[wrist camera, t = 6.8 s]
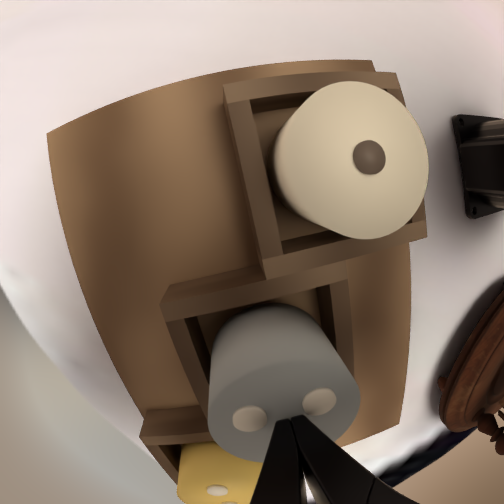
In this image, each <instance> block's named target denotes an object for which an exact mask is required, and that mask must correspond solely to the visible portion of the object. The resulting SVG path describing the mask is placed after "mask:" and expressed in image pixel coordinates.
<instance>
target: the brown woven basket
mask: <svg viewBox="0 0 504 504" xmlns="http://www.w3.org/2000/svg"><path fill="white" fill-rule="evenodd" d="M438 386H439V388H440V390H441V392H442V396H441V399H440V404H439V416H440V419H441V421H442V422H443V423H444V424H445V425H446V427H447V428H448V429H449V430H450V431H453V432H461V431H464V430H467V429H470V428H472V427H475V426H477V427H478V430H479V431H480V432H482V433H485V434H487V435H490V436H492V437H491V439H490V442H494V441H496V445H495V450H496V452H497V453H498V454H499V455H504V433H503V432H504V427H500V428H498V425H497V422H496V419H495V417H494V414H495V413H496V412H497V411H498V410H499V409H501V408H502V407H503V408H504V290H503V291H502V292H501V293H500V294H499V296H498V297H497V298H496V299H495V300H494V302H493V303H492V304H491V305H490V307H489V308H488V309H487V311H486V312H485V314H484V315H483V316H482V318H481V319H480V321H479V322H478V324H477V325H476V327H475V329H474V330H473V332H472V333H471V335H470V337H469V338H468V340H467V342H466V343H465V345H464V347H463V349H462V350H461V352H460V354H459V356H458V358H457V360H456V362H455V364H454V366H453V368H452V370H451V372H450V374H449V377H448V378H446V377H440V378H439V379H438ZM498 415H499V416H500V417H501V418H502V419H503V420H504V413H503V412H502V411H500V410H499V411H498Z"/></svg>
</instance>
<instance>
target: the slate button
mask: <svg viewBox="0 0 504 504" xmlns="http://www.w3.org/2000/svg"><path fill="white" fill-rule="evenodd" d="M360 400H361V398H360V391H359V387H358V385H357V383H356V381H355V380H354V378H353V376H352V375H351V373H350V372H349V370H348V369H347V367H346V366H345V364H344V363H343V361H342V359H341V358H340V356H339V355H338V353H337V352H336V350H335V349H334V347H333V346H332V344H331V343H330V341H329V340H328V338H327V337H326V335H325V333H324V332H323V330H322V329H321V327H320V326H319V324H318V323H317V322H316V320H315V319H314V318H313V317H312V316H311V315H310V314H308V313H307V312H305V311H304V310H302V309H300V308H298V307H296V306H292V305H289V304H284V303H263V304H258V305H254V306H251V307H248V308H246V309H244V310H242V311H240V312H238V313H236V314H235V315H233V316H232V317H231V318H229V319H228V320H227V321H226V322H225V323H224V324H223V326H222V327H221V328H220V329H219V331H218V333H217V335H216V336H215V339H214V342H213V346H212V354H211V369H210V385H209V403H208V428H209V432H210V434H211V436H212V438H213V439H214V441H215V442H216V443H217V444H218V445H219V446H220V447H221V448H222V449H224V450H225V451H226V452H228V453H230V454H232V455H234V456H236V457H238V458H242V459H245V460H249V461H253V462H262V463H263V462H264V459H265V455H266V452H267V449H268V446H269V442H270V439H271V436H272V432H273V429H274V425H275V422H276V421H277V420H281V419H285V418H289V419H290V418H291V417H293V416H297V415H301V414H303V415H305V416H306V417H307V418H308V419H309V420H310V421H311V422H312V423H313V424H315V425H316V426H317V427H318V428H319V429H320V430H321V431H322V432H323V433H325V434H326V435H327V436H328V437H329V438H330V439H331V440H332V441H334V442H335V441H336V440H337V439H338V438H339V437H341V436H342V435H343V434H344V433H345V432H346V431H347V429H348V428H349V427H350V426H351V424H352V423H353V421H354V419H355V418H356V415H357V413H358V410H359V407H360Z"/></svg>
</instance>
